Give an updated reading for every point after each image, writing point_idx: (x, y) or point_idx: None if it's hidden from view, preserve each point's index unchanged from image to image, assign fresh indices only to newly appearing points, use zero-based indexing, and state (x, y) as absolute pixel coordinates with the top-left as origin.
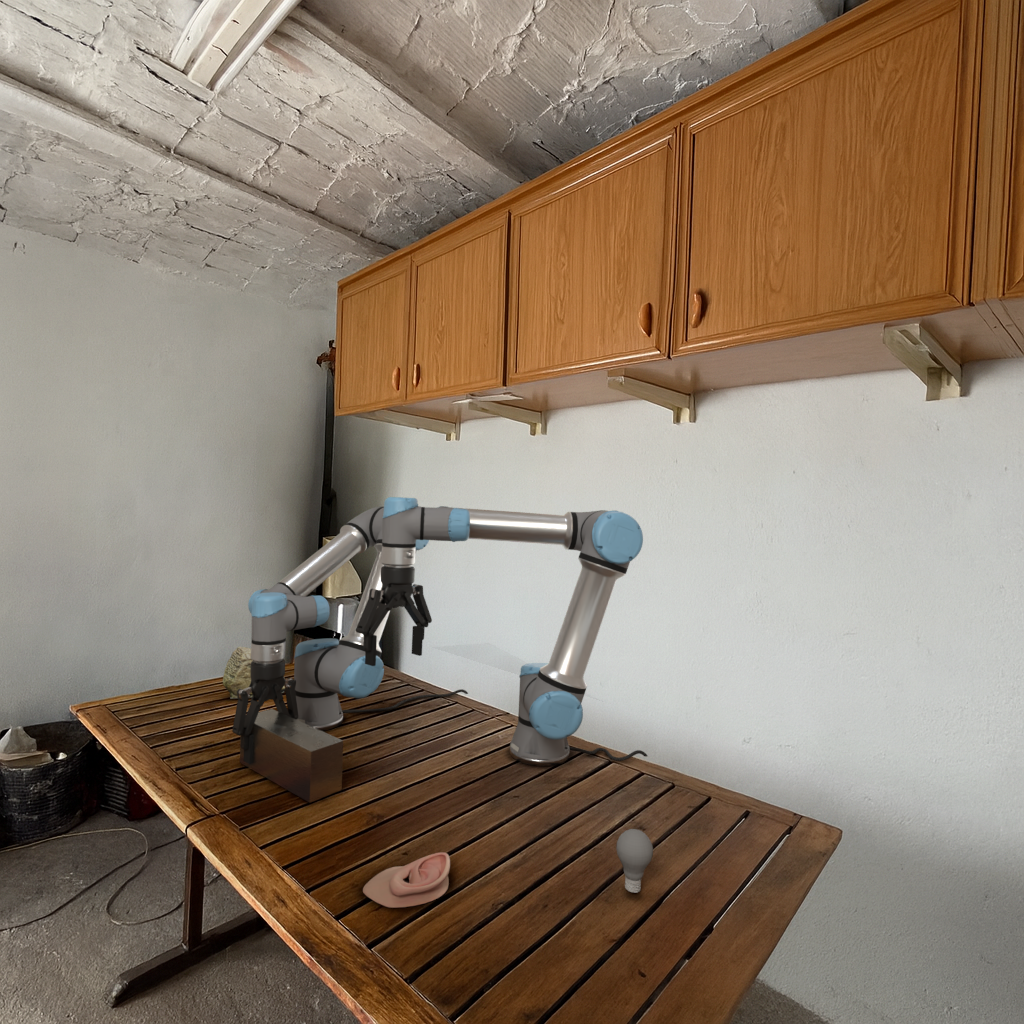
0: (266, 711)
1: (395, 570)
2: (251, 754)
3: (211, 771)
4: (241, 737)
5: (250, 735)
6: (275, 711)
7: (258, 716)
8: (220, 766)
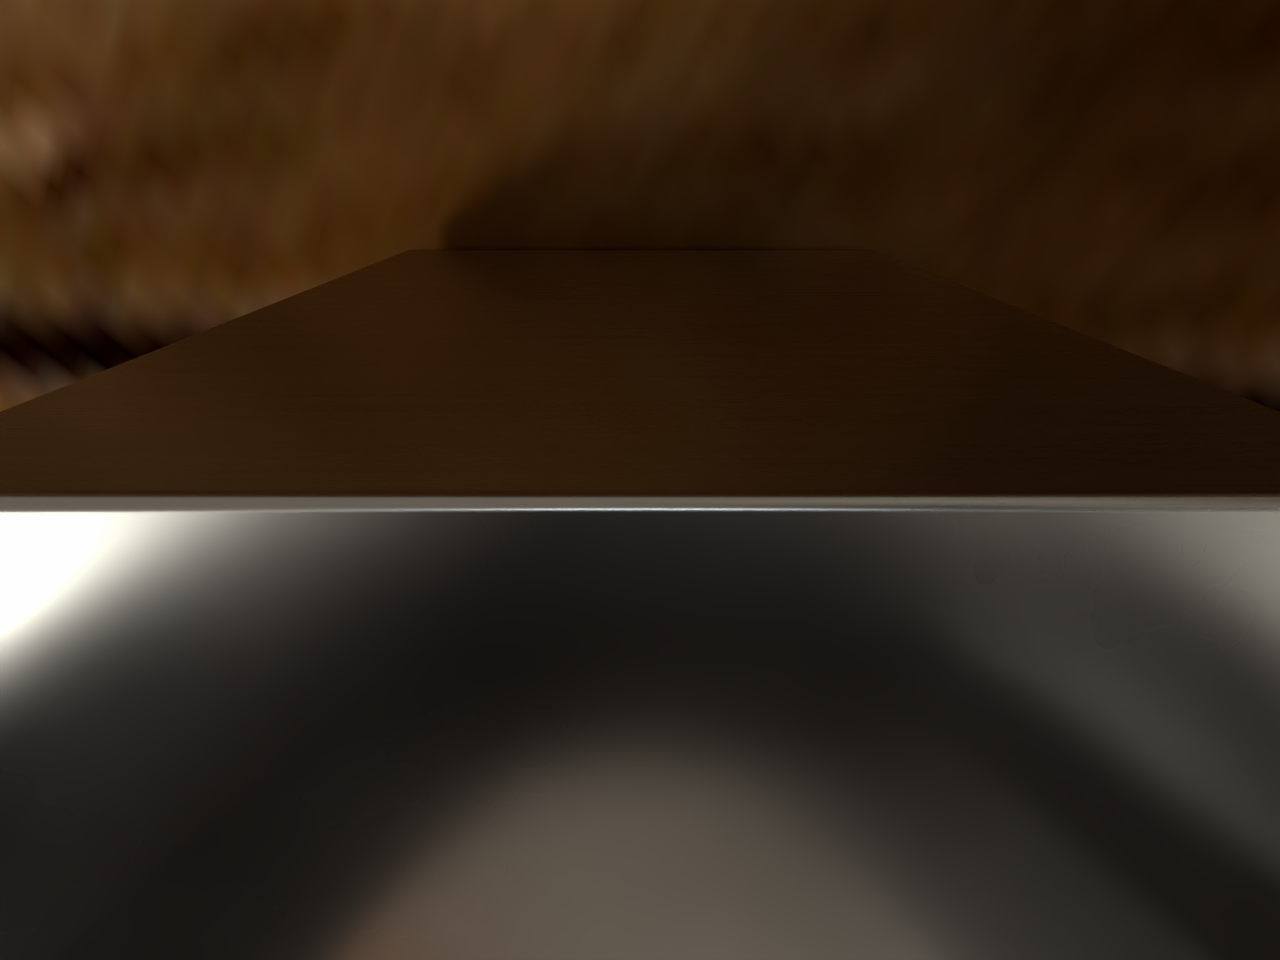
0: (1056, 644)
1: None
2: None
3: (44, 189)
4: None
5: None
6: (1266, 874)
7: (462, 913)
8: (187, 115)
